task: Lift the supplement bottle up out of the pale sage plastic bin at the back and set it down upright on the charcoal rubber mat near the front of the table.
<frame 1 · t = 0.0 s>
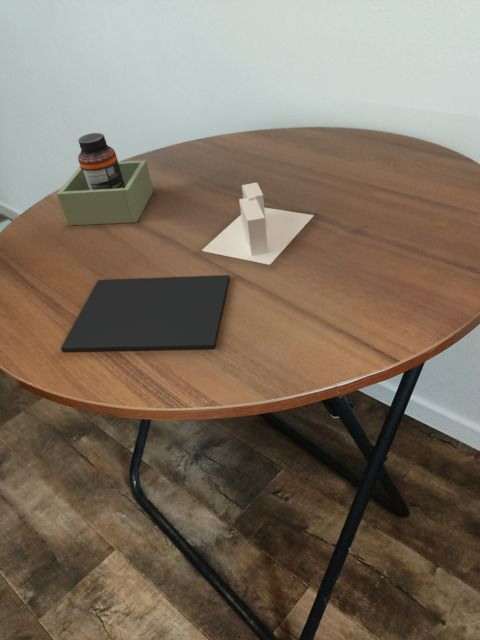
napkin holder: (259, 233, 77), on the table
mat: (151, 313, 64), on the table
bin: (112, 207, 88), on the table
supplement bottle: (112, 205, 88), resting on bin
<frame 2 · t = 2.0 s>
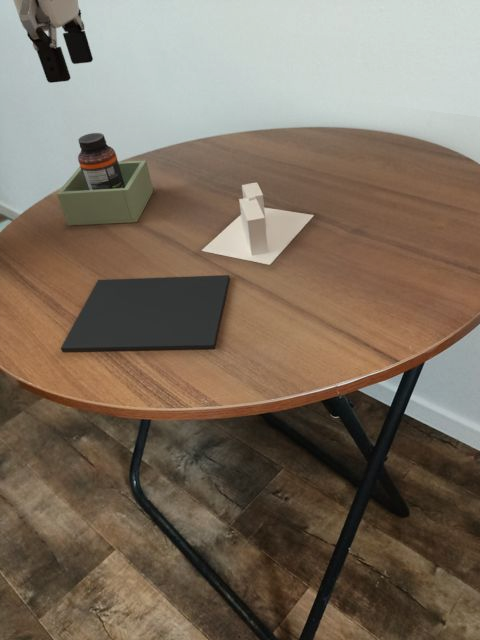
hand: (71, 71, 75), 21 cm above the table, tool pointing down, fingers open, 9 cm apart
nothing on the table moved.
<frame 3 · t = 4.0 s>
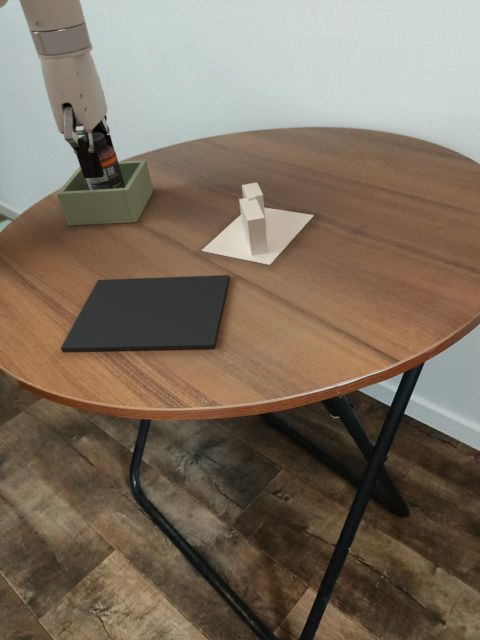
hand: (100, 167, 84), 7 cm above the table, tool pointing down, fingers closed on supplement bottle, 6 cm apart
supplement bottle: (112, 205, 88), resting on bin, touching gripper
everything else where it was.
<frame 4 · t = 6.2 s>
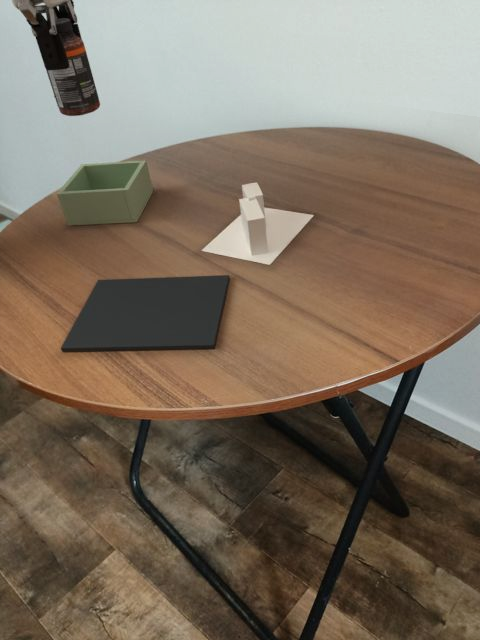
hand: (66, 61, 72), 23 cm above the table, tool pointing down, fingers closed on supplement bottle, 6 cm apart
supplement bottle: (81, 112, 76), point 16 cm above the table, touching gripper
everything else where it was.
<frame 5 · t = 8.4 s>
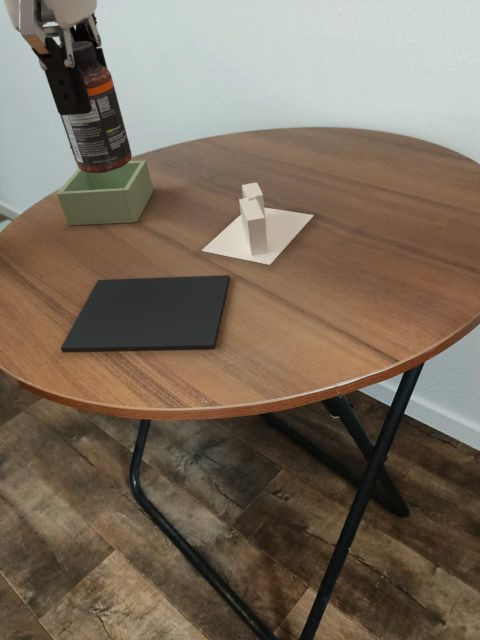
hand: (86, 100, 52), 24 cm above the table, tool pointing down, fingers closed on supplement bottle, 6 cm apart
supplement bottle: (106, 166, 56), point 17 cm above the table, touching gripper
everything else where it was.
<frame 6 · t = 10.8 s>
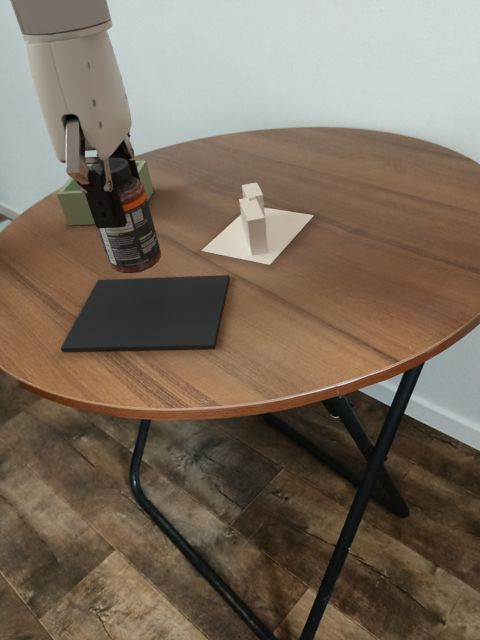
hand: (120, 209, 55), 14 cm above the table, tool pointing down, fingers closed on supplement bottle, 6 cm apart
supplement bottle: (137, 263, 60), point 7 cm above the table, touching gripper
everything else where it was.
when the fingers open (7 cm above the table, at t = 12.8 s): supplement bottle stays where it is, resting on mat.
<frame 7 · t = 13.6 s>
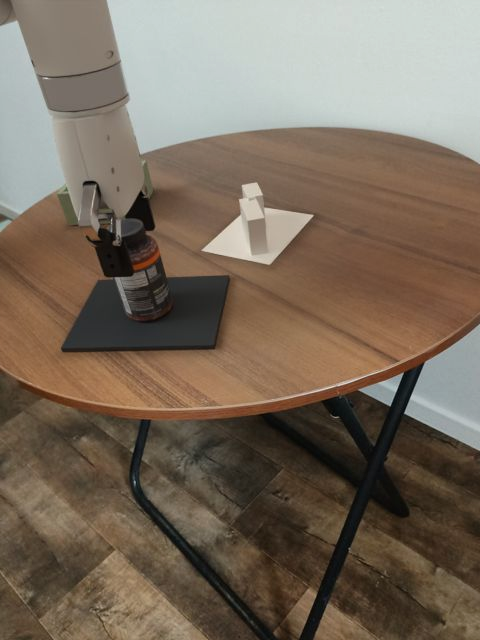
hand: (131, 251, 59), 9 cm above the table, tool pointing down, fingers open, 9 cm apart
supplement bottle: (150, 310, 64), resting on mat
everything else where it was.
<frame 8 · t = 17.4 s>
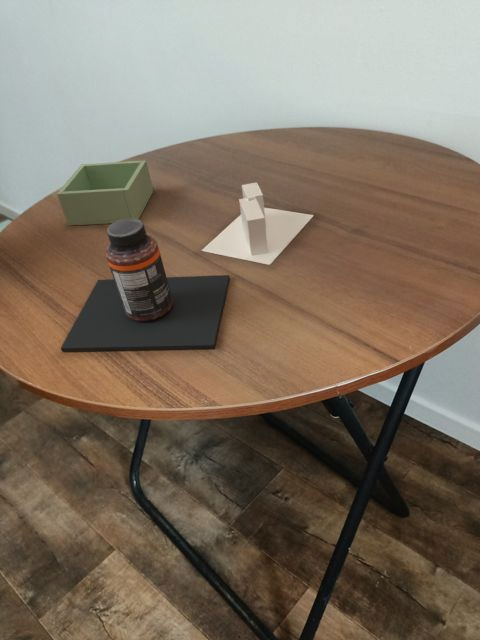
nothing on the table moved.
at the end: supplement bottle inside the target area on the mat (0.1 cm from its centre), point 0.4 cm above the mat's base; supplement bottle tilted 0°; supplement bottle touching mat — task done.
